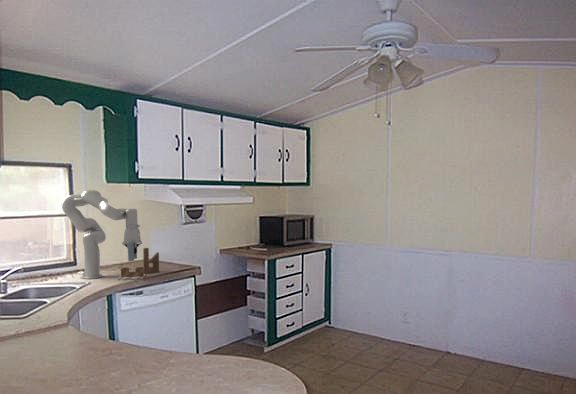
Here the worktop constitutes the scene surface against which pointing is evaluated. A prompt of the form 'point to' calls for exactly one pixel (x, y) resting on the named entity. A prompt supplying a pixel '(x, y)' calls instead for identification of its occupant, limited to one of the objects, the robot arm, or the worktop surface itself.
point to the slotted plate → (131, 252)
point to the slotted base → (131, 273)
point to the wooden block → (153, 260)
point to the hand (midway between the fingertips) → (132, 253)
